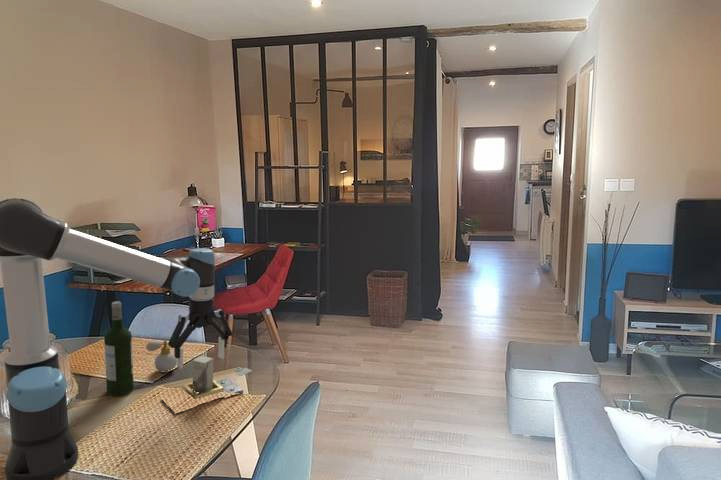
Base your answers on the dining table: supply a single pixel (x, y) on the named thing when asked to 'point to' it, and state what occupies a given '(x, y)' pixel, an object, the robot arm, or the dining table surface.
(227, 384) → the square hole socket
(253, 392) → the dining table surface
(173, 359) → the perfume bottle
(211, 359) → the box
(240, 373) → the mounting bracket
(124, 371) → the wine bottle
